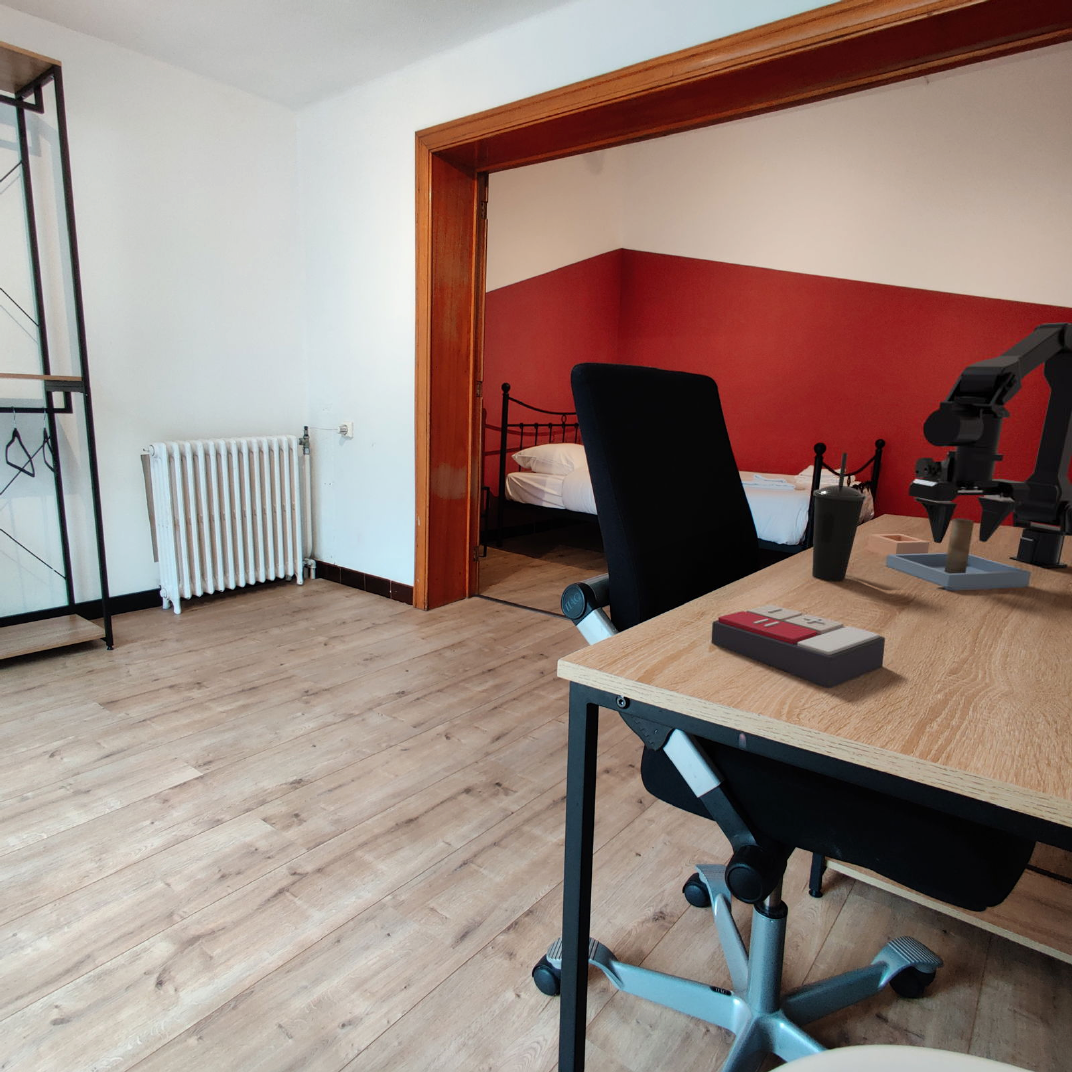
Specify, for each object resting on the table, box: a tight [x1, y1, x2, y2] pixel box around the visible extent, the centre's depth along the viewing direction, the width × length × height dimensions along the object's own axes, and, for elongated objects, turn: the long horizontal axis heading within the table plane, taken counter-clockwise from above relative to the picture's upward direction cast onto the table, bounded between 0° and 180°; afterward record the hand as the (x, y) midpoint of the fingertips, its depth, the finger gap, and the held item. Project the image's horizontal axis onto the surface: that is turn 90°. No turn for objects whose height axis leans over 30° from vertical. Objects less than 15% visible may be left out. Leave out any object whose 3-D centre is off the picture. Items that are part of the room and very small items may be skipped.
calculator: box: [711, 604, 886, 689], centre depth 79 cm, size 11×4×15 cm
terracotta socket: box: [866, 533, 930, 558], centre depth 129 cm, size 7×7×4 cm
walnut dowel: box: [944, 518, 975, 574], centre depth 115 cm, size 3×3×9 cm
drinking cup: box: [811, 452, 867, 582], centre depth 111 cm, size 8×8×20 cm
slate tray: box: [885, 552, 1032, 592], centre depth 116 cm, size 16×13×2 cm
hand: (960, 542), depth 115 cm, fingers open, 9 cm apart
